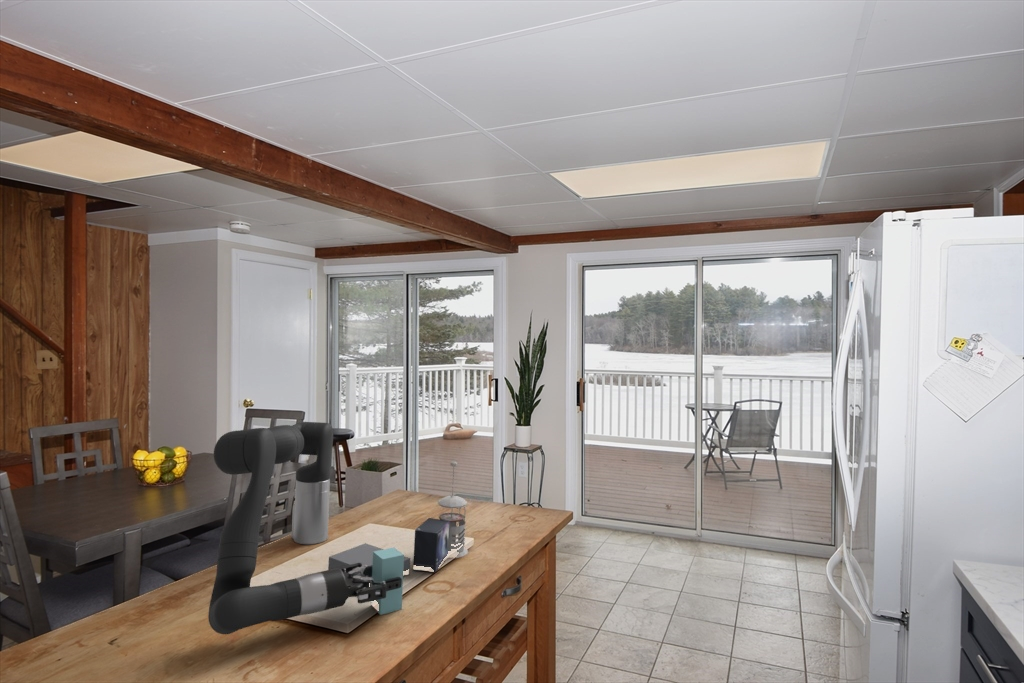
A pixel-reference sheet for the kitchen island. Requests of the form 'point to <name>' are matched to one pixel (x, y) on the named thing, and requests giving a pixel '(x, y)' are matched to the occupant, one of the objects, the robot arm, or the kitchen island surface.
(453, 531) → the french press
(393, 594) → the teal block
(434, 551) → the small box
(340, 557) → the grey flat block
